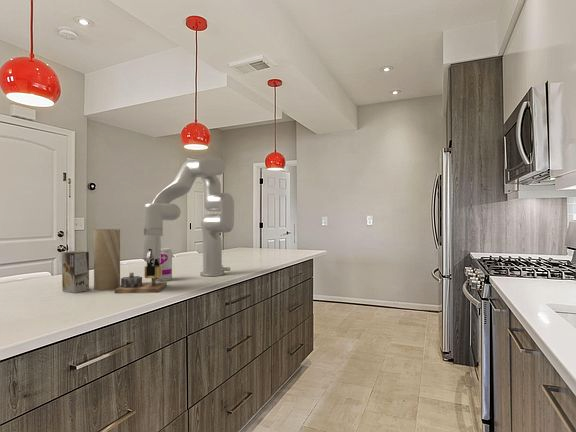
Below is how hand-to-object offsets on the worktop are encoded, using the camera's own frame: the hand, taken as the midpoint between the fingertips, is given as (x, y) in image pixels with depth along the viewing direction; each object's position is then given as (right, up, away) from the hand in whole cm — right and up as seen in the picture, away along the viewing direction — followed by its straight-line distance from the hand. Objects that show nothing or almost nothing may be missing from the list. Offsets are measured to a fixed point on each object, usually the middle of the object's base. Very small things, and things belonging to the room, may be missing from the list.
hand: (153, 274), depth 152 cm
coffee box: (-31, -6, -4) cm, 32 cm away
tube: (-20, -6, +1) cm, 21 cm away
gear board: (-4, -6, -1) cm, 8 cm away
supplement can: (-3, -6, +20) cm, 21 cm away
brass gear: (0, -1, 0) cm, 1 cm away
